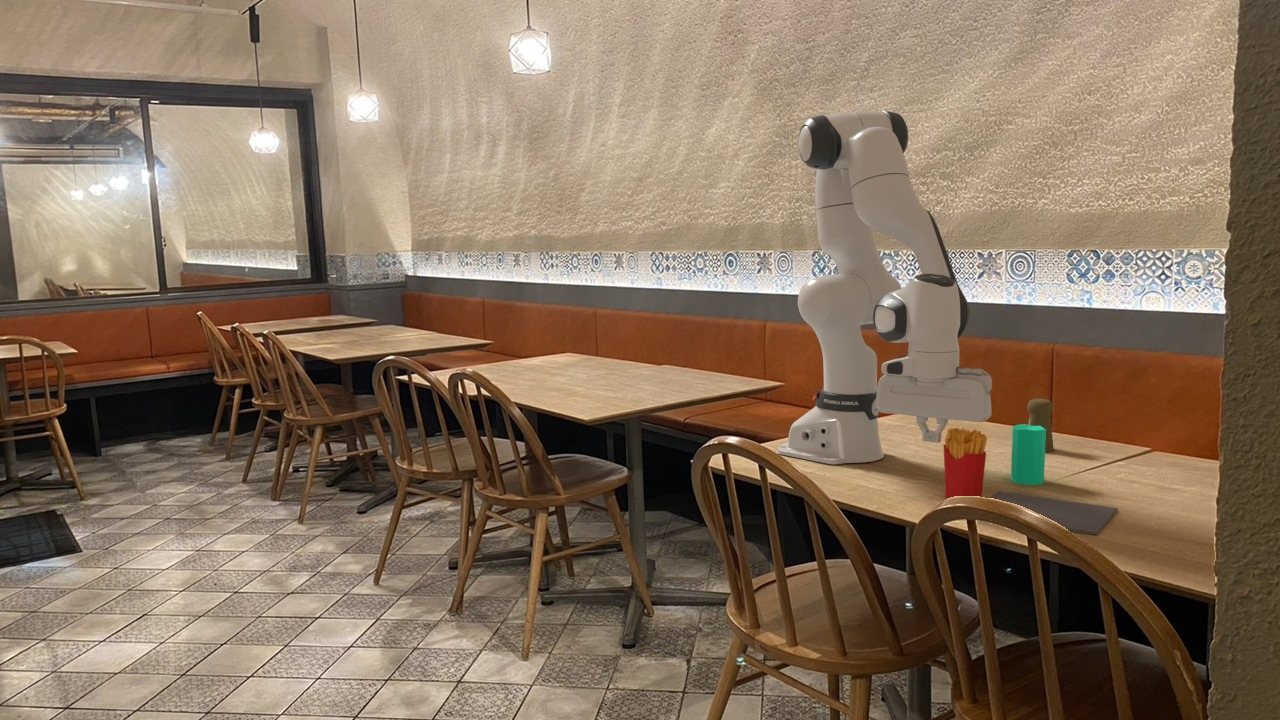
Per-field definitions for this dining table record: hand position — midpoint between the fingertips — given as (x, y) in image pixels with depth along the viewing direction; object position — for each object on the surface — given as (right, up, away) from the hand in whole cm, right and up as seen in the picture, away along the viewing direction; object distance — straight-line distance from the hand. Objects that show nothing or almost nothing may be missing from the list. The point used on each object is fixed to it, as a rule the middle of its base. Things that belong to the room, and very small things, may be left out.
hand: (931, 441), depth 179 cm
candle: (+21, -9, +11) cm, 26 cm away
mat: (+16, -11, -10) cm, 22 cm away
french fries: (+5, -11, -2) cm, 12 cm away
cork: (+34, -5, +36) cm, 50 cm away
